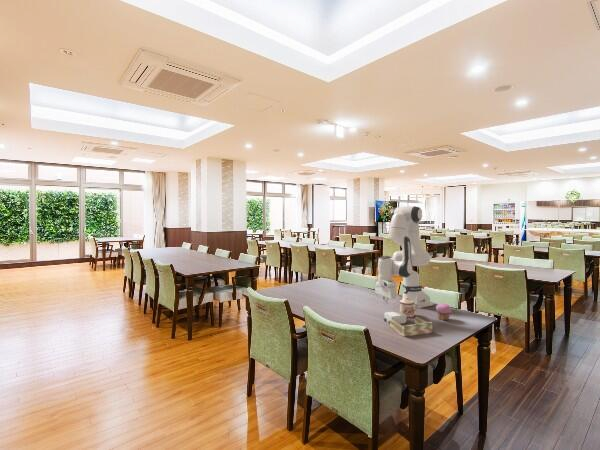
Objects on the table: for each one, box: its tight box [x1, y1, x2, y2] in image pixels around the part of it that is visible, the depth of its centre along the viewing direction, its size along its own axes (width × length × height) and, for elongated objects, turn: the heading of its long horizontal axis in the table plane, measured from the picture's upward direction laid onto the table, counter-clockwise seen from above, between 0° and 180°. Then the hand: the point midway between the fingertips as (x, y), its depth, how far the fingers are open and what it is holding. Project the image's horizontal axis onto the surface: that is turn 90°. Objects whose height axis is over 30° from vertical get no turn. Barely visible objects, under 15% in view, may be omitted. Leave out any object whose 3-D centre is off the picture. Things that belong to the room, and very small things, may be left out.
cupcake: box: [435, 302, 453, 321], centre depth 194 cm, size 9×9×10 cm
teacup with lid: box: [399, 297, 418, 318], centre depth 204 cm, size 12×9×12 cm
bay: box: [389, 316, 433, 337], centre depth 177 cm, size 18×14×6 cm
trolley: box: [383, 310, 408, 325], centre depth 193 cm, size 11×9×5 cm
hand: (385, 303), depth 202 cm, fingers closed
